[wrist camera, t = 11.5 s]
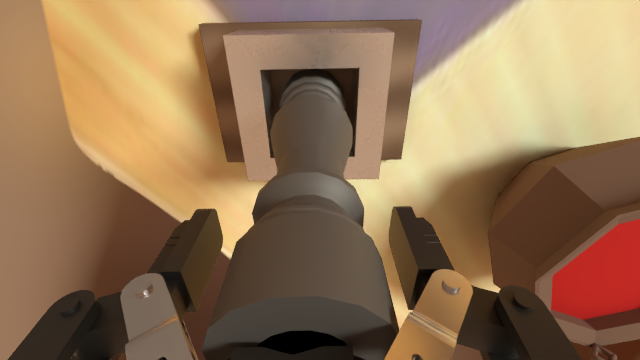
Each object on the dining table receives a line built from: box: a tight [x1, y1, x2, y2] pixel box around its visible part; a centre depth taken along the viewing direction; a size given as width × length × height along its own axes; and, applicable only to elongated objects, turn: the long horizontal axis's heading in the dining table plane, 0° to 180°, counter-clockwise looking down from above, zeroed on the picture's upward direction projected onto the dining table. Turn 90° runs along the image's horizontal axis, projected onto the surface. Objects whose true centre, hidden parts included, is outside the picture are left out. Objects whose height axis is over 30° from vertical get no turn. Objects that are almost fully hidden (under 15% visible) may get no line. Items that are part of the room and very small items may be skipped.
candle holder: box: [202, 69, 399, 360], centre depth 19 cm, size 6×6×25 cm
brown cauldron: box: [488, 137, 640, 360], centre depth 31 cm, size 24×24×16 cm
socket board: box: [199, 19, 422, 162], centre depth 30 cm, size 14×20×2 cm
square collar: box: [223, 27, 395, 181], centre depth 27 cm, size 13×13×5 cm
